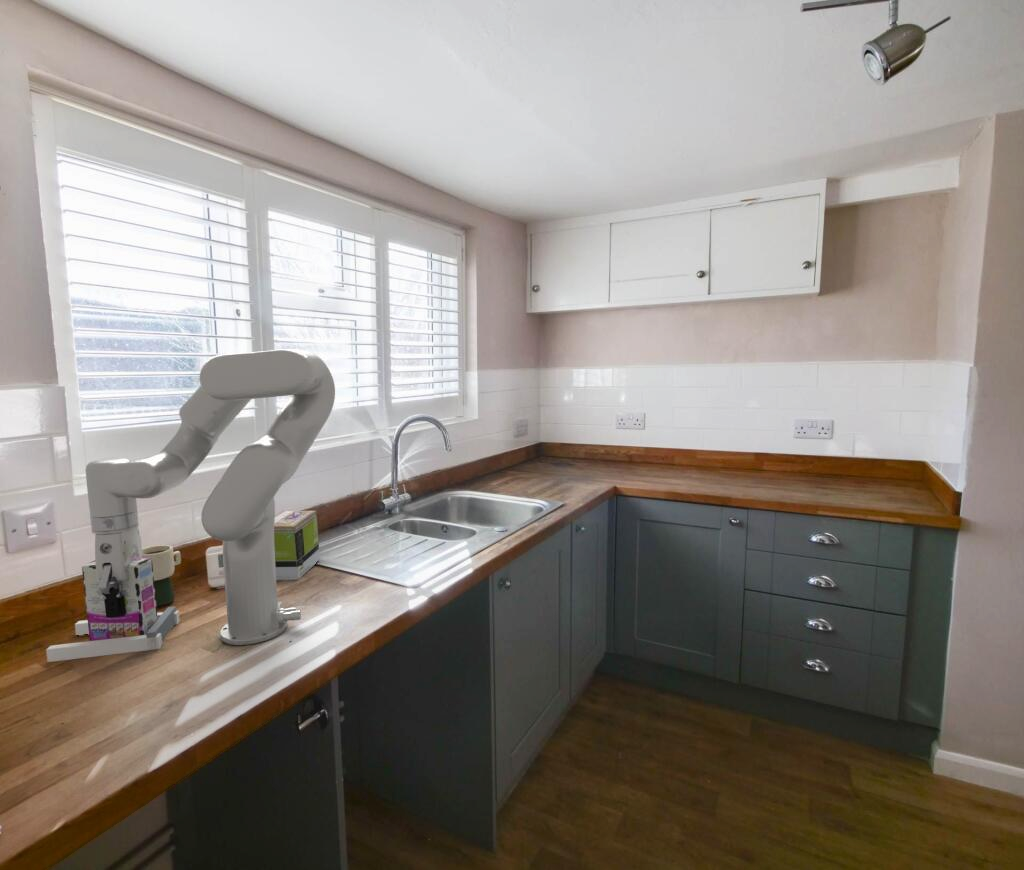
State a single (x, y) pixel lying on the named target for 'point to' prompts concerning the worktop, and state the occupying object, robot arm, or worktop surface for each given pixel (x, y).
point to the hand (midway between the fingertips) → (123, 608)
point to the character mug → (163, 571)
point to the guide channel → (116, 640)
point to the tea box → (295, 543)
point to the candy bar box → (136, 602)
